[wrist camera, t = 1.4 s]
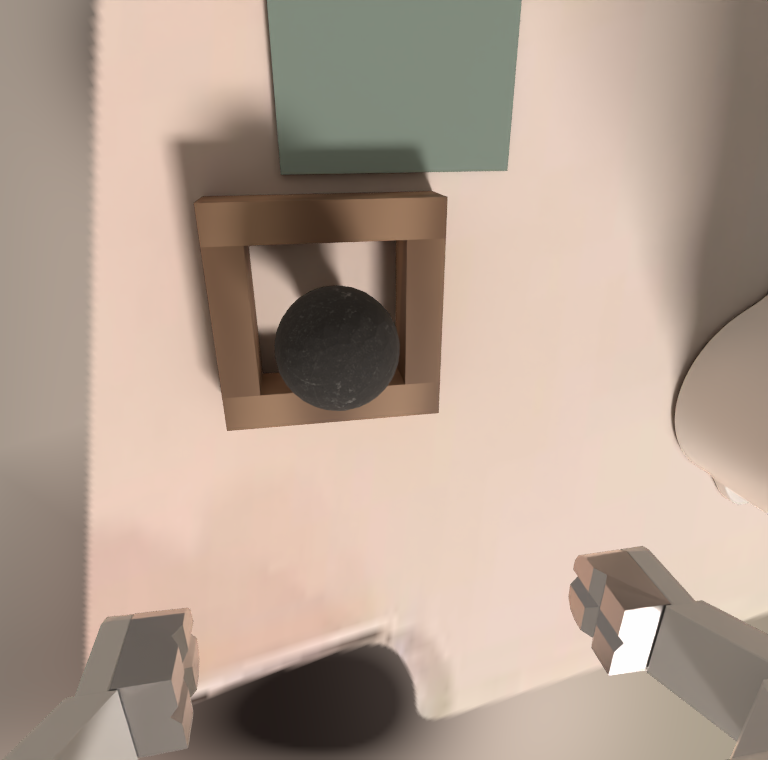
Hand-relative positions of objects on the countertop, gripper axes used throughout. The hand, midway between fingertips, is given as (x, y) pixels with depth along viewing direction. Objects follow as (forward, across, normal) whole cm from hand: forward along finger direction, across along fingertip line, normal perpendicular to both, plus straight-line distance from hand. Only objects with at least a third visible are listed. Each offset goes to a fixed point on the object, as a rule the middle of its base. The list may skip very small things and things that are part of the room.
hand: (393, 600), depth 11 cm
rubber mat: (+22, -4, -12) cm, 25 cm away
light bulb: (+22, 0, 0) cm, 22 cm away
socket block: (+22, 0, 0) cm, 22 cm away
